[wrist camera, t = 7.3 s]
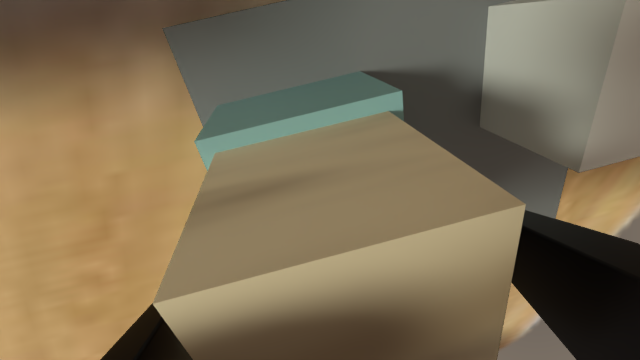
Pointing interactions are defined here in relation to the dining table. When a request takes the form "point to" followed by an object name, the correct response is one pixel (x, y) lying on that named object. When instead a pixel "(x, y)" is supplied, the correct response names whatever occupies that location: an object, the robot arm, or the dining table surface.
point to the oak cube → (343, 251)
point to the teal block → (296, 111)
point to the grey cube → (565, 79)
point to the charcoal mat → (370, 72)
